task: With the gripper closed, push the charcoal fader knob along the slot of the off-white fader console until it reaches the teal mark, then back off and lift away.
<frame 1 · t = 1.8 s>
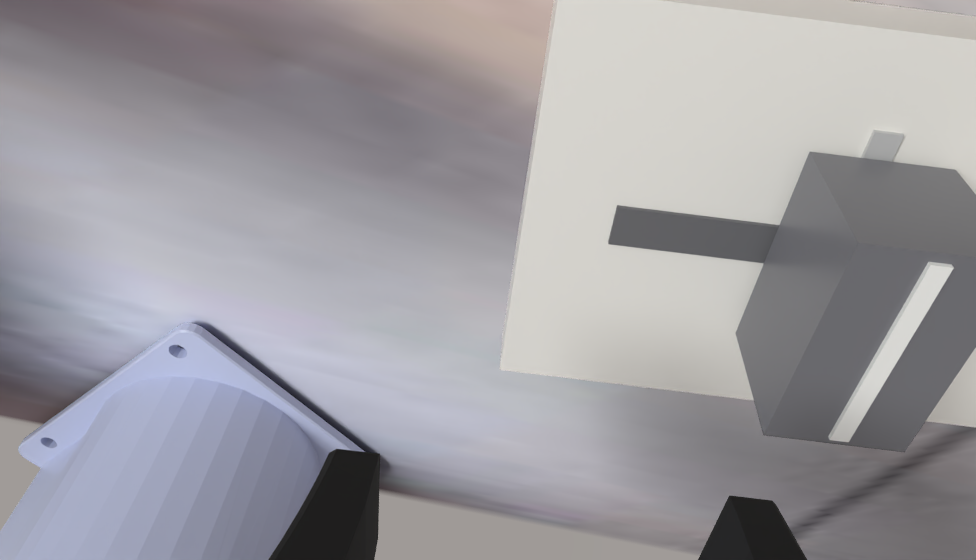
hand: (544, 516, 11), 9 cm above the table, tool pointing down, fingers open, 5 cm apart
fader knob: (858, 306, 16), point 3 cm above the table, slide at 0.0 cm
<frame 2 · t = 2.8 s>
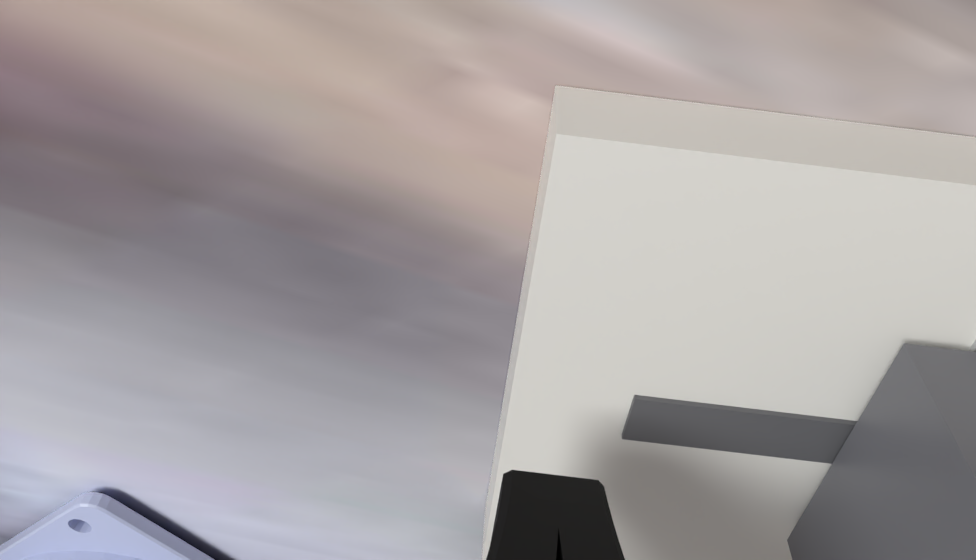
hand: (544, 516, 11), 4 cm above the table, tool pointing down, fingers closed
fader knob: (970, 552, 12), point 3 cm above the table, slide at 0.0 cm
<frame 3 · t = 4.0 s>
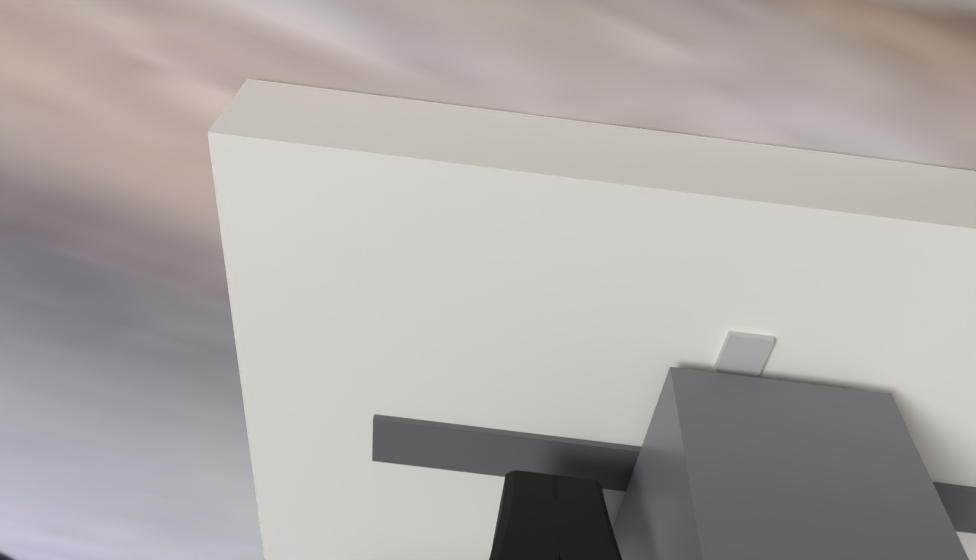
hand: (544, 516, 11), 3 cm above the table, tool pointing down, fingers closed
fader console: (907, 431, 13), on the table
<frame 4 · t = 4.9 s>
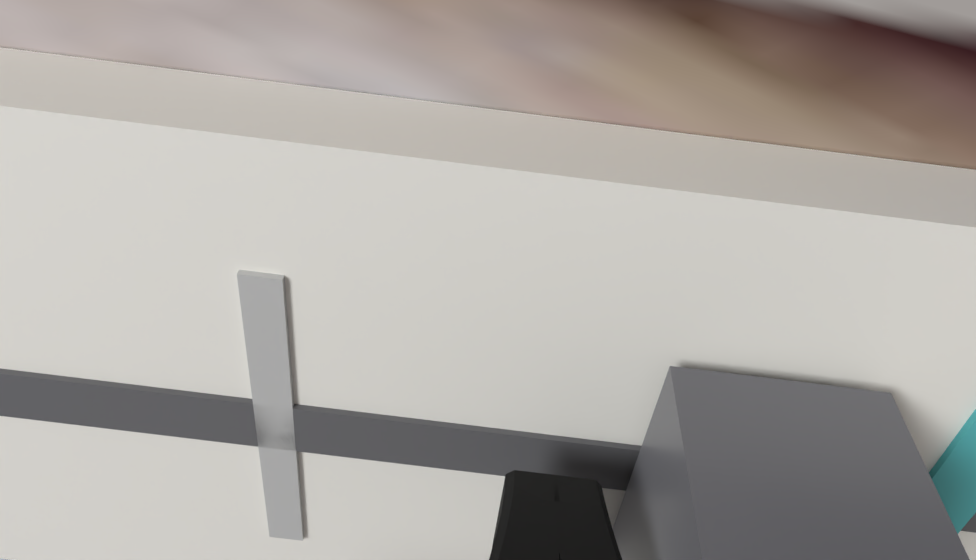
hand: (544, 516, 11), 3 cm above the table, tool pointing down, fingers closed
fader console: (533, 384, 13), on the table
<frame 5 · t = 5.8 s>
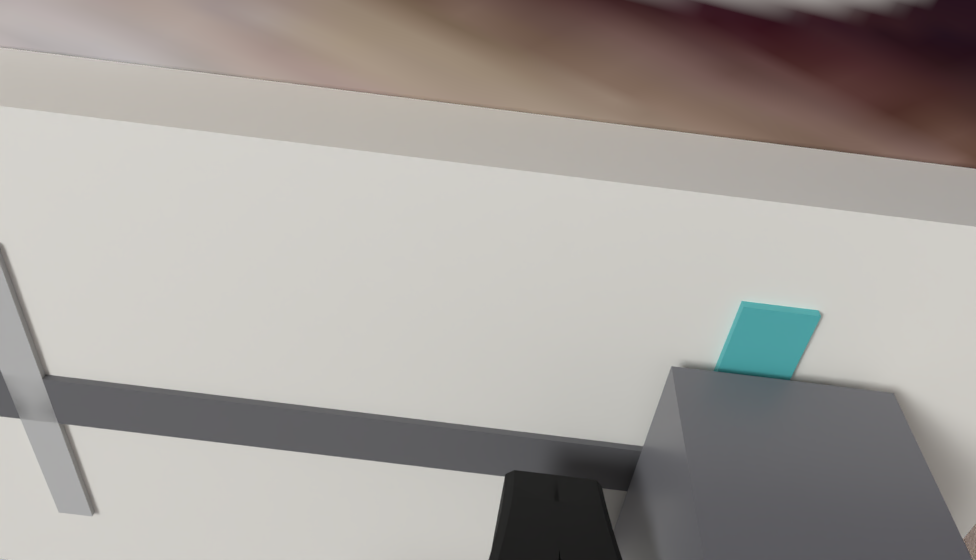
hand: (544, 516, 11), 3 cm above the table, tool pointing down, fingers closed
fader console: (314, 358, 13), on the table
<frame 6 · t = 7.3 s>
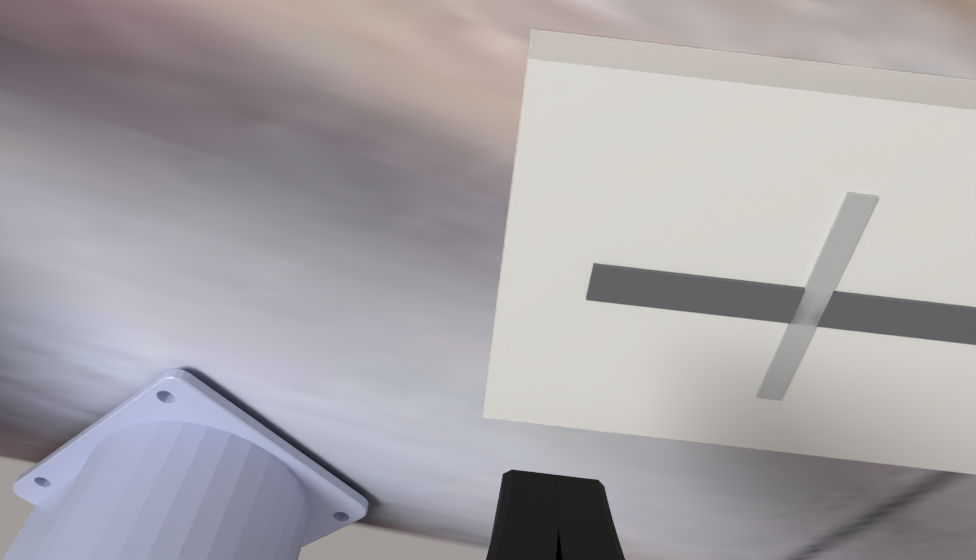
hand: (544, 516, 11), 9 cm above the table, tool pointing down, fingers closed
fader console: (959, 284, 19), on the table
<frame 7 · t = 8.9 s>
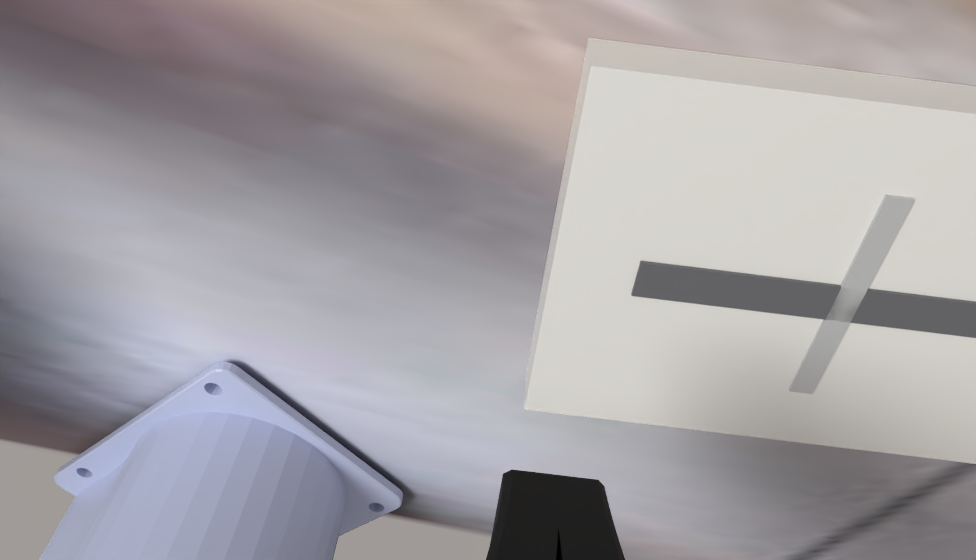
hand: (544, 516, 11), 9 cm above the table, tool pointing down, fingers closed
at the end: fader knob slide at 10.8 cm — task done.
